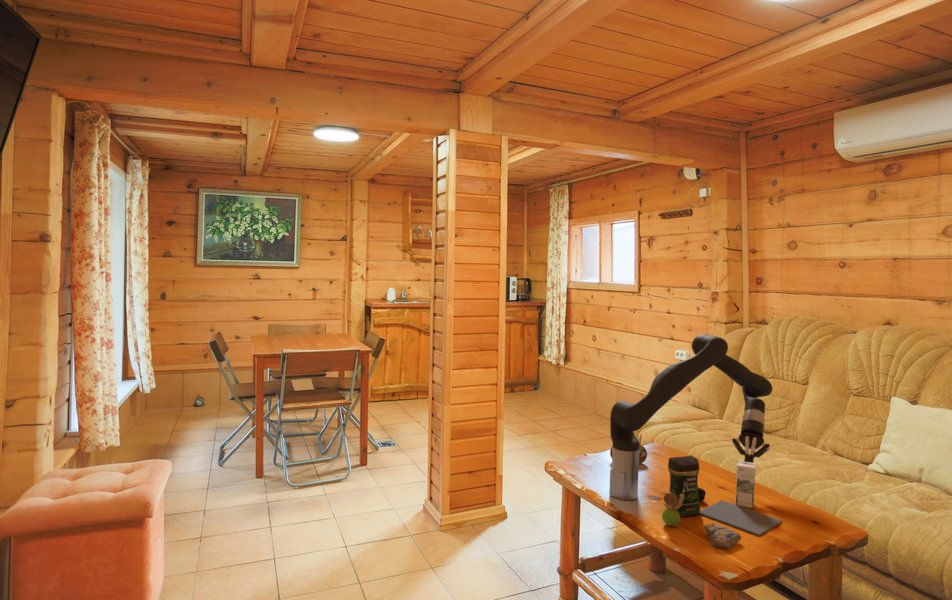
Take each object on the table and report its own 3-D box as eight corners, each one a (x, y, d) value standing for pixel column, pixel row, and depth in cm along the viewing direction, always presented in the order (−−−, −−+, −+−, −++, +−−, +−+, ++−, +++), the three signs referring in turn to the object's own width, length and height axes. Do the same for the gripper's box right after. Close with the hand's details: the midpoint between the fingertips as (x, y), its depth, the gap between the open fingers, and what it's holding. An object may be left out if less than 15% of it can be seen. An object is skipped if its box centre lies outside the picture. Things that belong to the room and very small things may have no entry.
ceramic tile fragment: (696, 521, 174) (728, 521, 174) (696, 531, 174) (727, 531, 175) (715, 540, 162) (749, 540, 162) (715, 551, 162) (748, 551, 163)
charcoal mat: (759, 536, 171) (759, 534, 171) (697, 513, 187) (697, 511, 187) (781, 522, 181) (782, 520, 181) (721, 501, 197) (721, 500, 197)
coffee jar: (677, 518, 182) (675, 462, 181) (665, 508, 190) (663, 454, 189) (704, 515, 184) (703, 459, 183) (691, 505, 192) (690, 451, 191)
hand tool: (705, 502, 197) (706, 486, 196) (692, 502, 196) (693, 486, 196) (679, 478, 219) (680, 464, 219) (667, 478, 219) (668, 464, 219)
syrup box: (753, 503, 196) (755, 462, 195) (753, 509, 191) (755, 467, 190) (735, 500, 199) (737, 459, 198) (735, 506, 193) (737, 464, 193)
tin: (610, 464, 234) (611, 444, 233) (609, 461, 237) (609, 441, 236) (647, 464, 234) (647, 444, 233) (644, 462, 237) (645, 442, 236)
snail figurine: (681, 531, 173) (682, 493, 173) (659, 526, 177) (661, 488, 176) (684, 525, 178) (686, 487, 177) (664, 520, 181) (665, 483, 181)
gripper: (733, 416, 213) (727, 456, 203) (772, 421, 207) (769, 463, 197) (734, 426, 218) (729, 467, 208) (772, 432, 211) (769, 474, 202)
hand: (748, 465), depth 202 cm, fingers closed
